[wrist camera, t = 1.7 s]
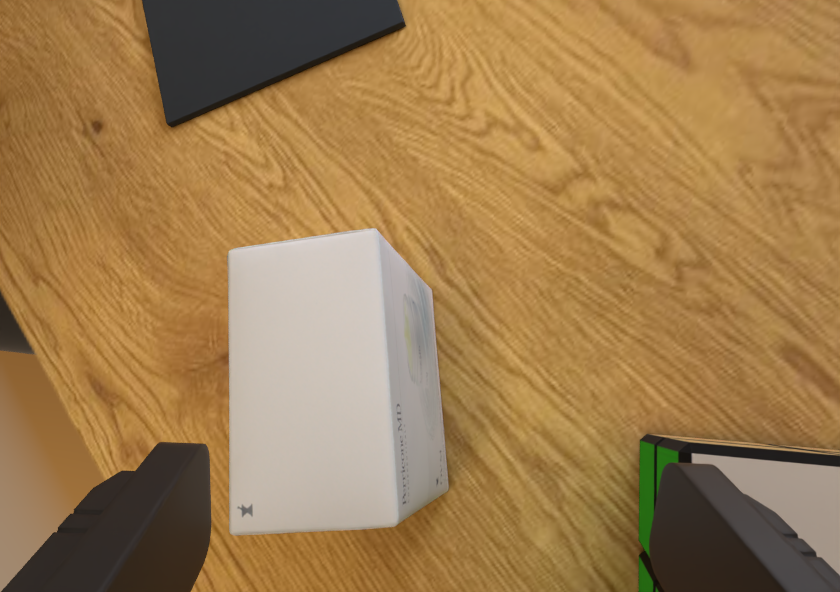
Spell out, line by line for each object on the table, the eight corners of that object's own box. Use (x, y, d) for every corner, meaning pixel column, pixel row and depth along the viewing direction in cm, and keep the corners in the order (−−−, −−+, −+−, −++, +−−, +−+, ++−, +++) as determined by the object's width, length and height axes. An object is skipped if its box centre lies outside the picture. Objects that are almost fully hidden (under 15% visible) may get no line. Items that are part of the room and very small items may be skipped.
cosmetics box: (457, 492, 29) (400, 532, 19) (333, 499, 30) (219, 540, 20) (438, 284, 31) (378, 222, 21) (324, 300, 32) (217, 248, 22)
